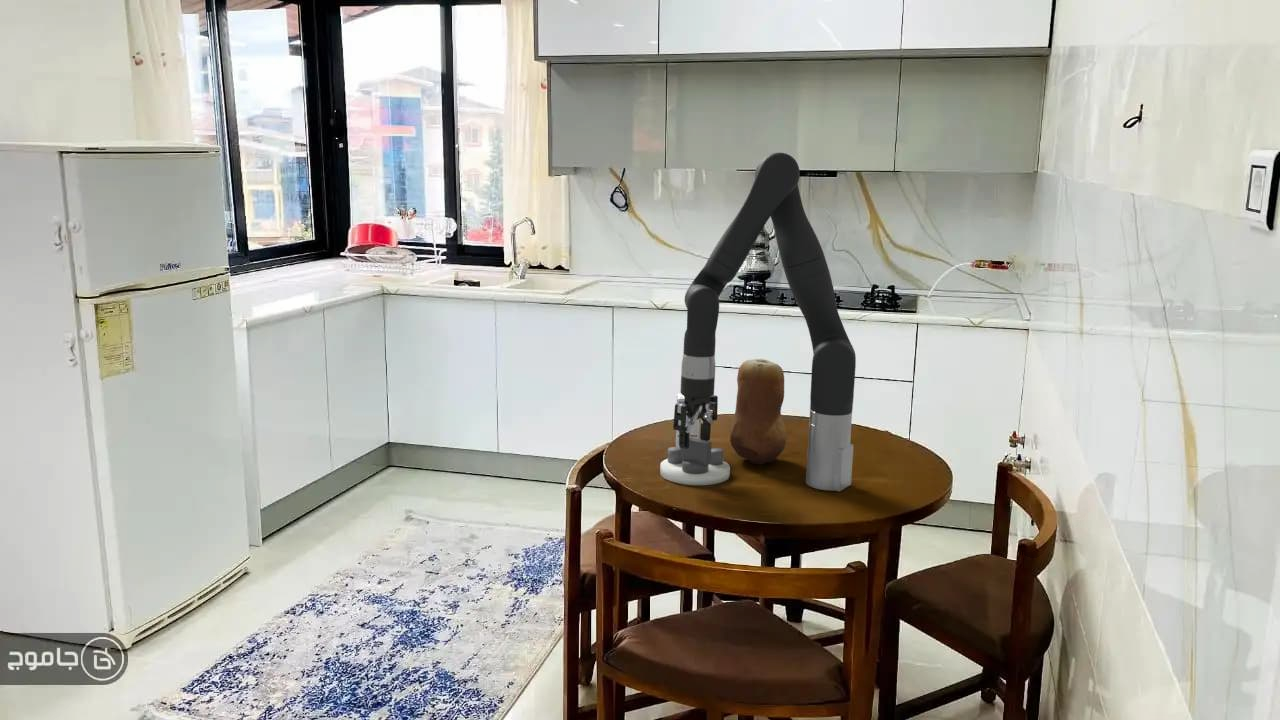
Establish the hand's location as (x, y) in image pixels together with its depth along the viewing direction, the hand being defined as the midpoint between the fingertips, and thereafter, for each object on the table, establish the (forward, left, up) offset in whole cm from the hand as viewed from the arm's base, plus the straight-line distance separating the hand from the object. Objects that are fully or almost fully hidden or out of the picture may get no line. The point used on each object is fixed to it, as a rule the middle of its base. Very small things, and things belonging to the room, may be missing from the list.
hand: (694, 444), depth 214 cm
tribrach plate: (+2, -3, -8) cm, 9 cm away
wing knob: (0, 0, -6) cm, 6 cm away
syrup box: (+13, -16, -8) cm, 22 cm away
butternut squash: (-4, -21, -8) cm, 23 cm away
